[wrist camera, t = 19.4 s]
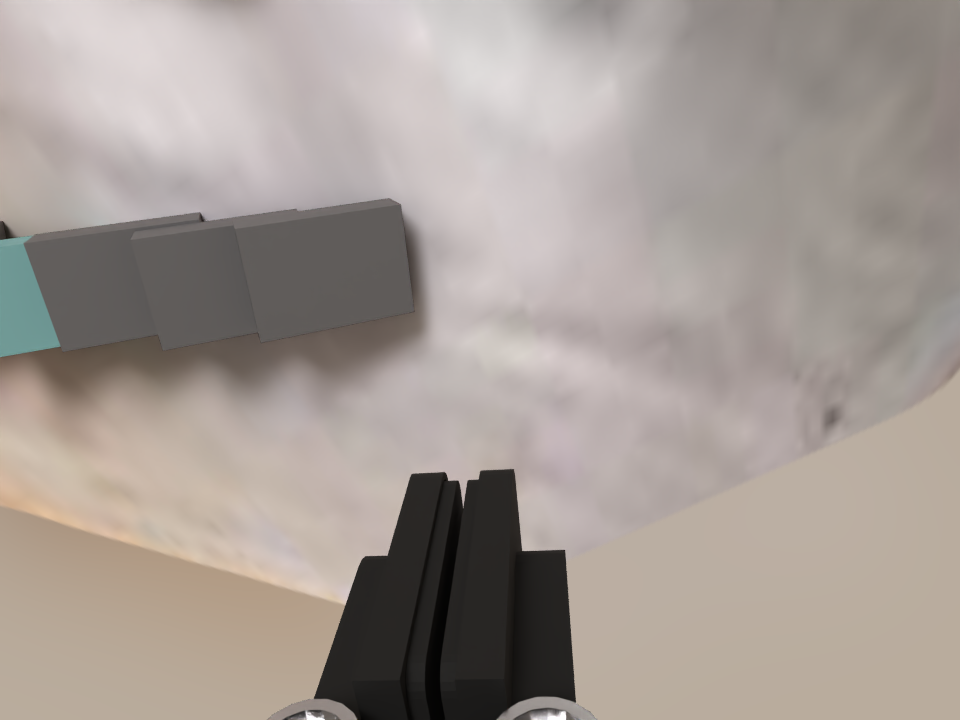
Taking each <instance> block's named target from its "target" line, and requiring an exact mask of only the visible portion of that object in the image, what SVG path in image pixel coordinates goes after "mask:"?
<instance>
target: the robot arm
mask: <svg viewBox="0 0 960 720" xmlns="http://www.w3.org/2000/svg"><path fill="white" fill-rule="evenodd" d="M569 614H570V613H569V599H568V585H567V571H566V557H565V550H549V551H522V545H521V535H520V524H519V513H518V502H517V492H516V481H515V473H514V469H506V470H484V471H480V476H479V480H468V482H467V488H466V494H465V501H464V508H463V504H462V497H461V489H460V484H459V481H448V478H447V475H446V473H445V472H440V473H419V474H412V475H411V477H410V480H409V483H408V487H407V490H406V494H405V497H404V501H403V504H402V508H401V511H400V515H399V518H398V521H397V525H396V528H395V532H394V535H393V539H392V542H391V546H390V549H389V553H388V556H365V557H364V558H363V559H362V561H361V563H360V565H359V567H358V570H357V573H356V576H355V579H354V582H353V585H352V588H351V591H350V594H349V597H348V600H347V603H346V606H345V609H344V612H343V615H342V618H341V621H340V623H339V626H338V630H337V632H336V635H335V638H334V641H333V644H332V647H331V650H330V653H329V656H328V659H327V662H326V665H325V667H324V671H323V673H322V676H321V679H320V682H319V685H318V688H317V691H316V694H315V697H314V699H308V700H304V701H301V702H297V703H294V704H291V705H289V706H287V707H285V708H283V709H281V710H280V711H278V712H276V713H274V714H273V715H272V716H270V717H269V718H268V719H267V720H597V719H596V718H595V717H594V716H593V714H592V713H591V712H590V711H588V710H586V709H585V708H583V707H581V706H579V705H578V704H576V698H575V685H574V671H573V656H572V643H571V628H570V615H569Z"/></svg>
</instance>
